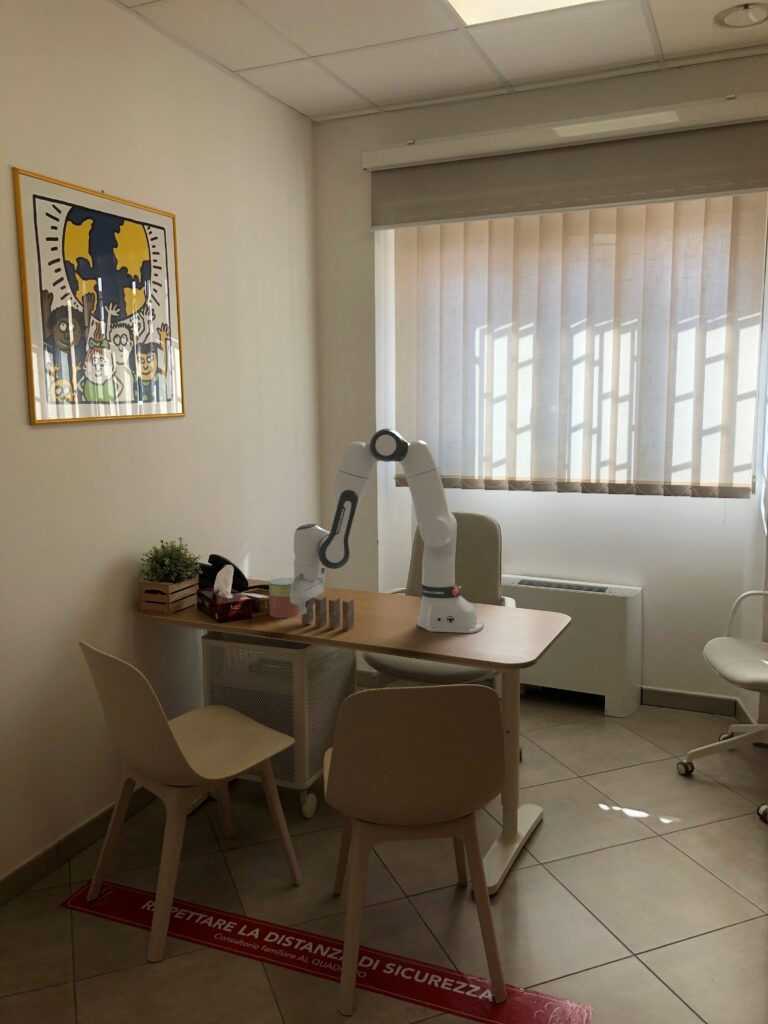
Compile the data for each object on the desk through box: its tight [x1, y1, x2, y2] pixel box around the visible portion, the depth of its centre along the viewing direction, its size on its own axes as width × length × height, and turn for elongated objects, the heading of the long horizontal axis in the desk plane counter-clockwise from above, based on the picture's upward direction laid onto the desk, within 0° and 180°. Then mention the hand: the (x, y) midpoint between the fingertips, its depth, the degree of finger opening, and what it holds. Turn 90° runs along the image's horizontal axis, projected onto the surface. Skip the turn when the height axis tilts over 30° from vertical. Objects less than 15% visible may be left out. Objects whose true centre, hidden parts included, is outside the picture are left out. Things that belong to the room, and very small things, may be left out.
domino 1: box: [301, 598, 314, 625], centre depth 293 cm, size 2×5×10 cm, turn 160°
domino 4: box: [341, 597, 355, 632], centre depth 288 cm, size 2×5×10 cm, turn 160°
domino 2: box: [314, 595, 328, 629], centre depth 291 cm, size 2×5×10 cm, turn 160°
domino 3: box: [328, 596, 341, 630], centre depth 290 cm, size 2×5×10 cm, turn 160°
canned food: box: [268, 577, 302, 619], centre depth 308 cm, size 11×11×12 cm
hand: (307, 611), depth 293 cm, fingers closed on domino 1, 5 cm apart
